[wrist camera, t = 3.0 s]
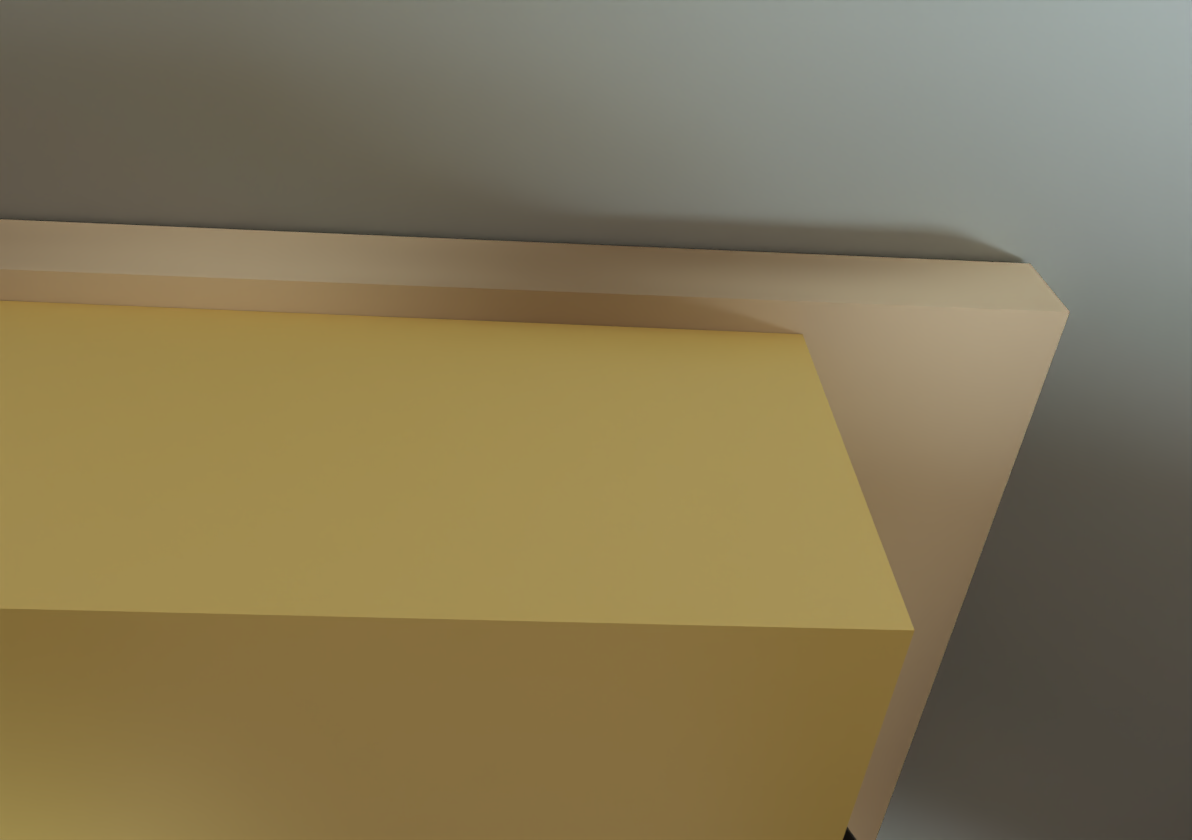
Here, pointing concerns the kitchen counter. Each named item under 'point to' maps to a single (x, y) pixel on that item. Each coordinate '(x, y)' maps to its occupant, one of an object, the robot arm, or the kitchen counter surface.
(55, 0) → the kitchen counter surface
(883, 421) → the subfloor panel
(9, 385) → the block
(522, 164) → the kitchen counter surface
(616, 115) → the kitchen counter surface
